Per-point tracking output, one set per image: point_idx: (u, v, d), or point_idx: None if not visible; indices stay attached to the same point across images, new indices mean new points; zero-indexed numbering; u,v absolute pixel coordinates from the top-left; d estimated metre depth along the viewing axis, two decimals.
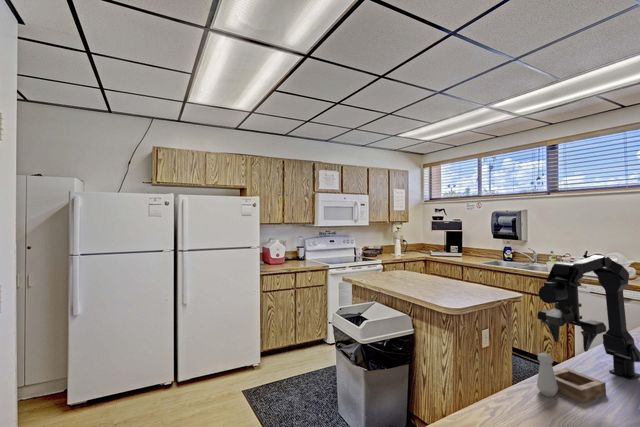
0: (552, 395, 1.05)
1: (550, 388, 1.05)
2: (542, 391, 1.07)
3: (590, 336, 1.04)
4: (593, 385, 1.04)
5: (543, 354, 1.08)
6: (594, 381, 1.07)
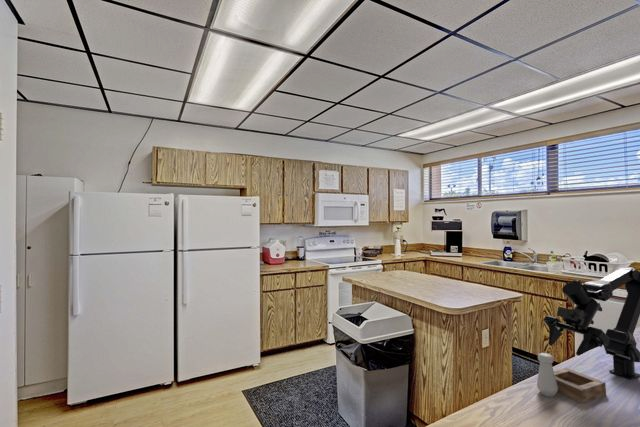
0: (552, 395, 1.05)
1: (550, 388, 1.05)
2: (542, 391, 1.07)
3: (589, 344, 1.06)
4: (593, 385, 1.04)
5: (543, 354, 1.08)
6: (594, 381, 1.07)
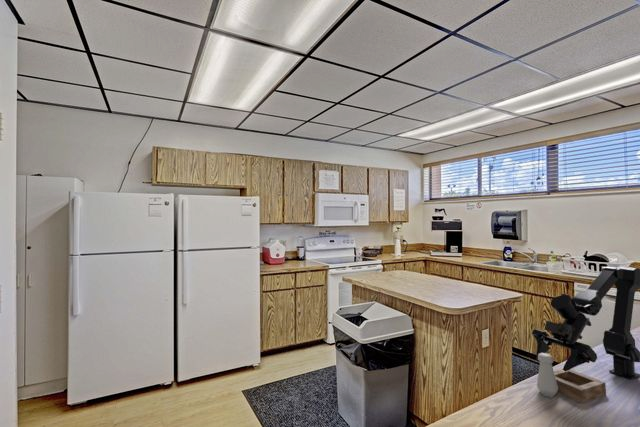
0: (552, 395, 1.05)
1: (550, 388, 1.05)
2: (542, 391, 1.07)
3: (576, 360, 1.04)
4: (593, 385, 1.04)
5: (543, 354, 1.08)
6: (594, 381, 1.07)
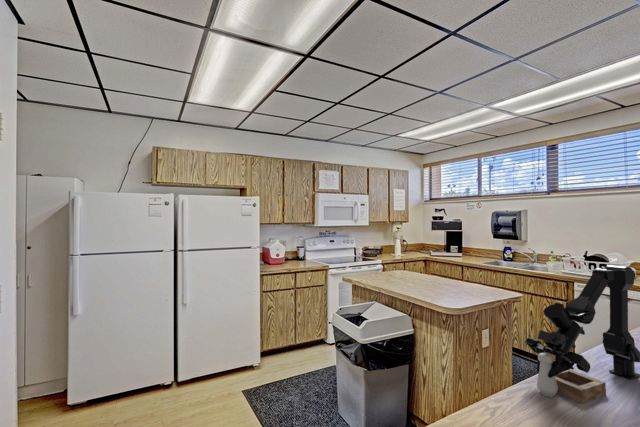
0: (552, 395, 1.05)
1: (550, 388, 1.05)
2: (542, 391, 1.07)
3: (561, 366, 1.06)
4: (593, 385, 1.04)
5: (543, 354, 1.08)
6: (594, 381, 1.07)
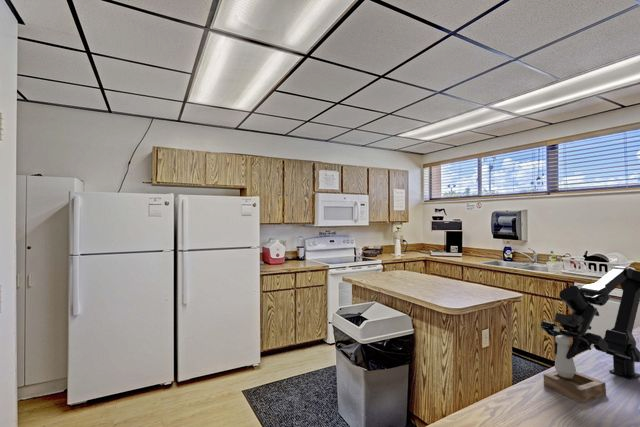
0: (571, 376, 1.07)
1: (569, 370, 1.06)
2: (560, 373, 1.08)
3: (578, 347, 1.07)
4: (593, 385, 1.04)
5: (561, 336, 1.09)
6: (594, 381, 1.07)
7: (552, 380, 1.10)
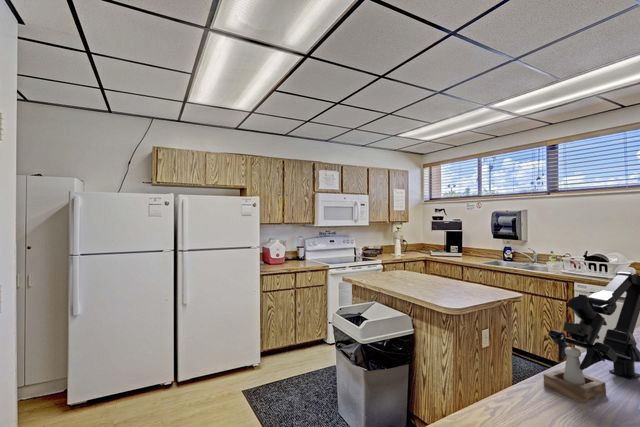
0: None
1: (578, 382, 1.07)
2: None
3: (592, 358, 1.06)
4: (593, 385, 1.04)
5: (570, 348, 1.10)
6: (594, 381, 1.07)
7: (552, 380, 1.10)
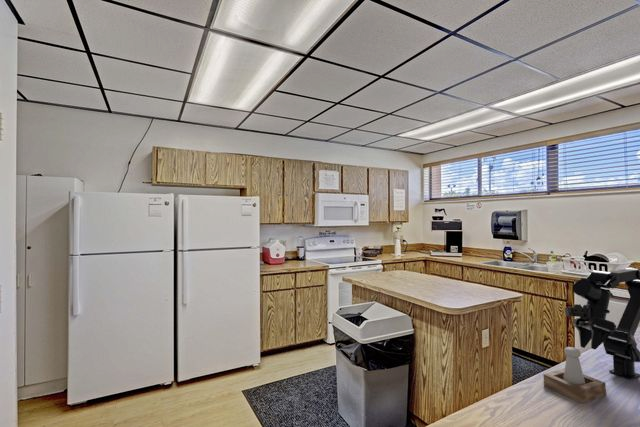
0: None
1: (578, 382, 1.07)
2: None
3: (600, 335, 1.08)
4: (593, 385, 1.04)
5: (570, 348, 1.10)
6: (594, 381, 1.07)
7: (552, 380, 1.10)
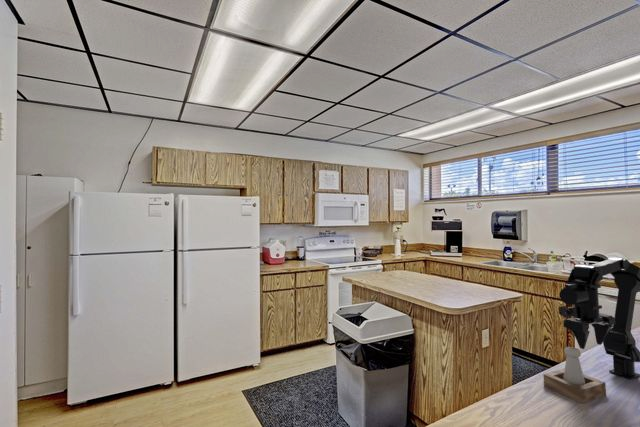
0: None
1: (578, 382, 1.07)
2: None
3: (580, 334, 1.11)
4: (593, 385, 1.04)
5: (570, 348, 1.10)
6: (594, 381, 1.07)
7: (552, 380, 1.10)
